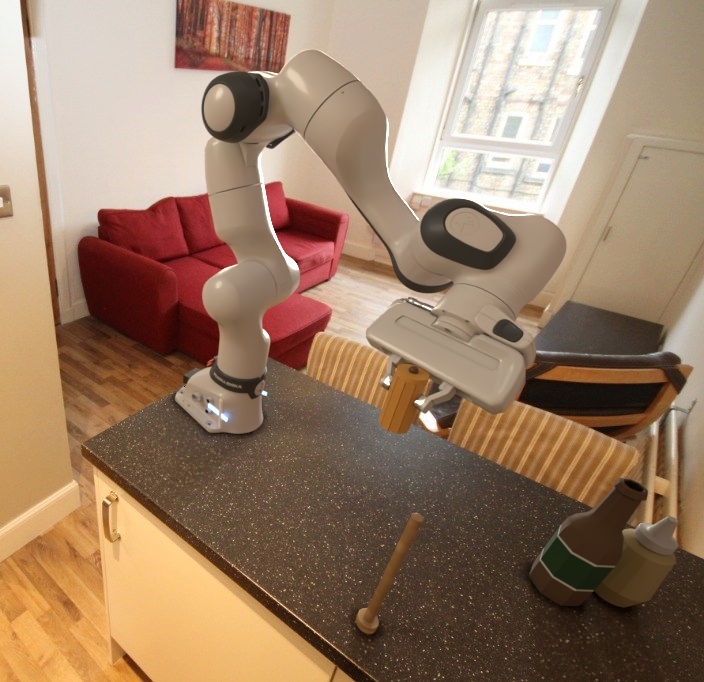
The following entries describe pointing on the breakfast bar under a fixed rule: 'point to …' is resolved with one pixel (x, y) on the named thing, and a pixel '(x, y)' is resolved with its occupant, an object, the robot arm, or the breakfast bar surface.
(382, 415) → the cylinder
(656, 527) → the squeeze bottle
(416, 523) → the brown wooden rod
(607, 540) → the beer bottle
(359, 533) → the breakfast bar surface
